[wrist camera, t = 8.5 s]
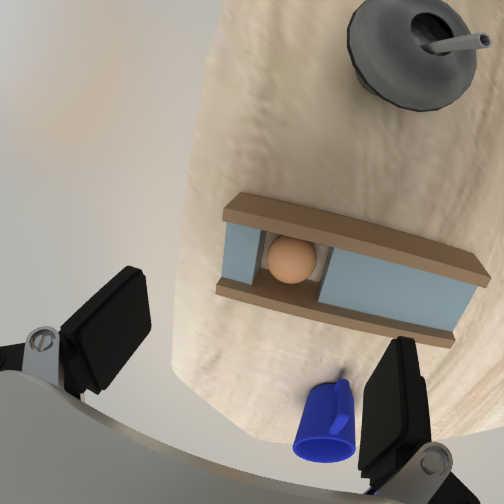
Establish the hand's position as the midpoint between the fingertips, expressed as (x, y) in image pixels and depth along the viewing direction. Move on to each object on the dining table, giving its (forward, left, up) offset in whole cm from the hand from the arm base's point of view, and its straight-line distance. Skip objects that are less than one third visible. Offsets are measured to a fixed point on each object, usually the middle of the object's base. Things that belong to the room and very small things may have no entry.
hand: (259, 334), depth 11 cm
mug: (-10, +27, -21) cm, 35 cm away
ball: (0, +7, -18) cm, 19 cm away
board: (-6, +7, -20) cm, 22 cm away
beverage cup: (-4, -12, -21) cm, 24 cm away
